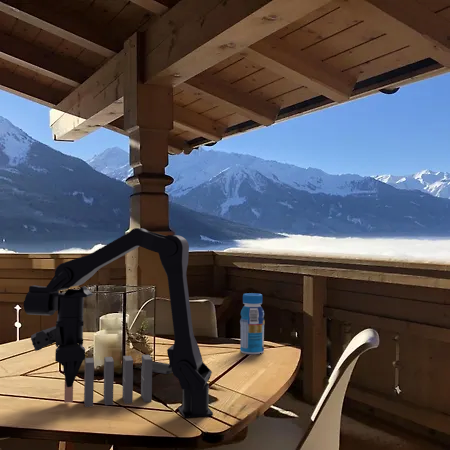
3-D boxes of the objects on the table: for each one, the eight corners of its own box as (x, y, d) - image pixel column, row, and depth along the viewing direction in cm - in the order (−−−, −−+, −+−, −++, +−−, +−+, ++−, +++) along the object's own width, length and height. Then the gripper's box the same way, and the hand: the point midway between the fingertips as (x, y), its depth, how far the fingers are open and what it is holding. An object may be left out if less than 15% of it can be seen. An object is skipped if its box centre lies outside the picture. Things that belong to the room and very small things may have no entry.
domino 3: (111, 398, 124) (111, 356, 125) (113, 404, 120) (113, 361, 120) (103, 398, 124) (104, 357, 124) (105, 405, 119) (105, 361, 119)
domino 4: (129, 396, 126) (130, 355, 126) (132, 403, 121) (133, 360, 121) (122, 397, 125) (123, 356, 125) (124, 403, 120) (125, 360, 121)
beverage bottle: (235, 352, 176) (235, 294, 177) (248, 348, 183) (248, 292, 184) (256, 356, 171) (256, 296, 172) (268, 351, 178) (269, 294, 179)
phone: (142, 359, 161) (182, 365, 154) (142, 363, 161) (182, 369, 154) (126, 365, 154) (167, 371, 147) (126, 368, 154) (167, 375, 147)
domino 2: (91, 399, 123) (92, 357, 123) (93, 406, 118) (94, 362, 118) (84, 400, 122) (84, 358, 123) (85, 406, 118) (86, 362, 118)
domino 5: (148, 395, 127) (148, 354, 127) (151, 401, 122) (152, 359, 123) (140, 395, 126) (141, 355, 127) (144, 402, 122) (144, 359, 122)
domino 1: (72, 395, 122) (73, 353, 122) (72, 402, 117) (73, 357, 117) (64, 396, 121) (65, 353, 121) (64, 402, 116) (65, 358, 117)
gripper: (35, 311, 126) (34, 375, 126) (31, 323, 108) (29, 398, 108) (82, 310, 129) (81, 372, 129) (85, 321, 112) (84, 394, 111)
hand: (69, 383), depth 119 cm, fingers closed on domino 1, 5 cm apart
